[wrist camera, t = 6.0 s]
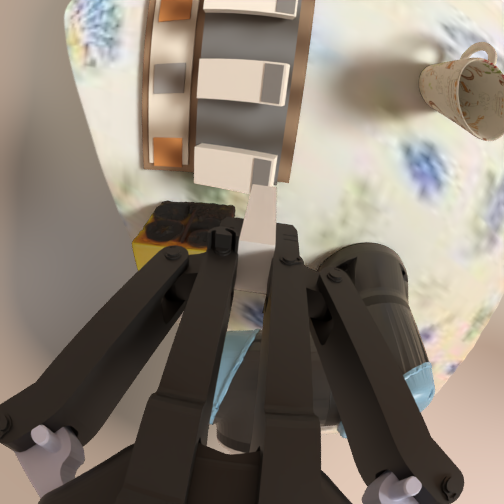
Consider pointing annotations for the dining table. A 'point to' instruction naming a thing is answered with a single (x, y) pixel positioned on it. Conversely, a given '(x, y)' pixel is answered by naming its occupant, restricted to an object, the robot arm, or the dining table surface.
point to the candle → (178, 228)
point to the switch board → (217, 110)
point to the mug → (468, 92)
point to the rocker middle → (243, 80)
